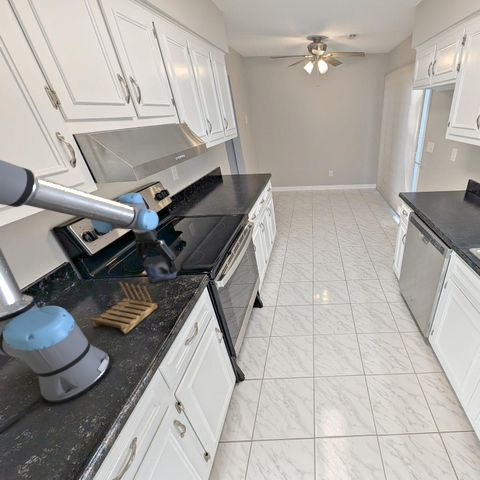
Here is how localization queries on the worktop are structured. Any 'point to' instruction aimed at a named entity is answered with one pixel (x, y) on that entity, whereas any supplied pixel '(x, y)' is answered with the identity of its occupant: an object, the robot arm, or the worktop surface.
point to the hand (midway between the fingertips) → (162, 270)
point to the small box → (158, 269)
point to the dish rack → (127, 310)
